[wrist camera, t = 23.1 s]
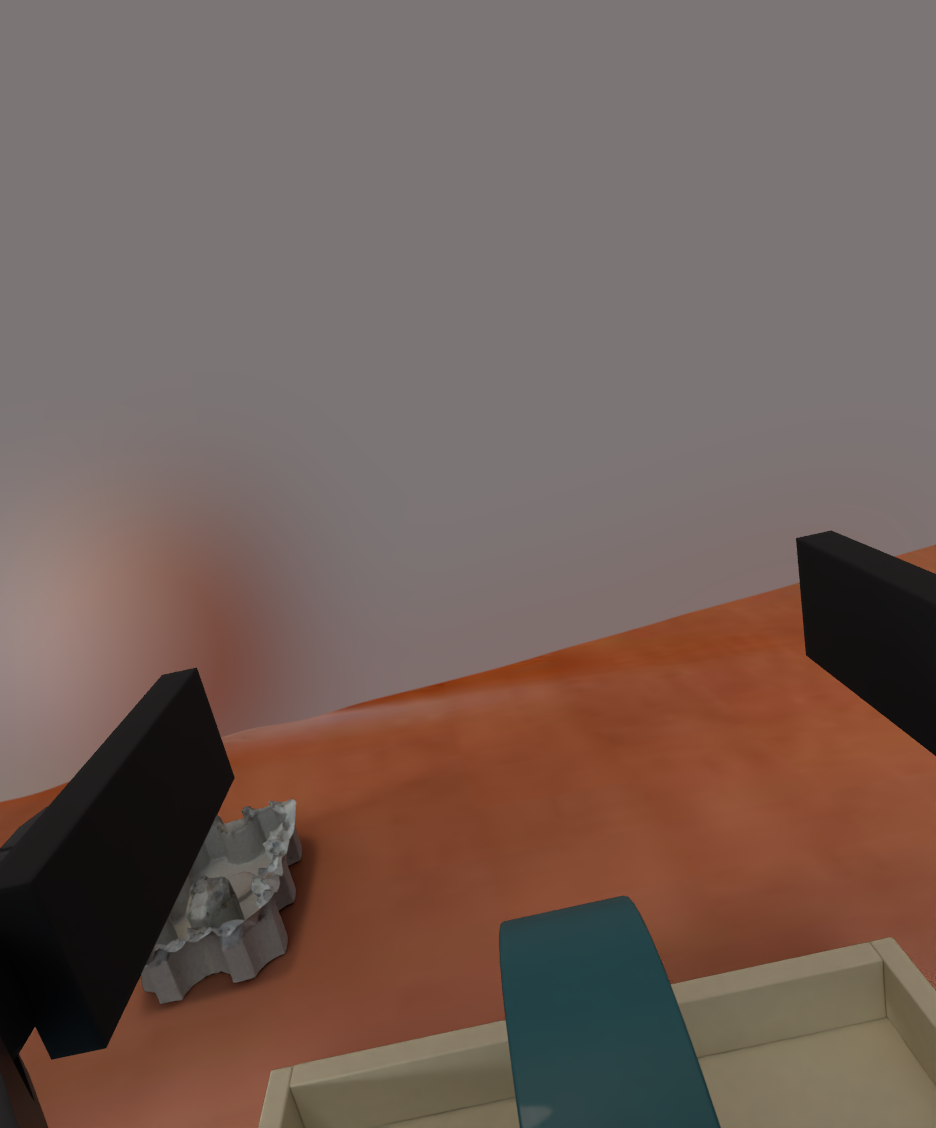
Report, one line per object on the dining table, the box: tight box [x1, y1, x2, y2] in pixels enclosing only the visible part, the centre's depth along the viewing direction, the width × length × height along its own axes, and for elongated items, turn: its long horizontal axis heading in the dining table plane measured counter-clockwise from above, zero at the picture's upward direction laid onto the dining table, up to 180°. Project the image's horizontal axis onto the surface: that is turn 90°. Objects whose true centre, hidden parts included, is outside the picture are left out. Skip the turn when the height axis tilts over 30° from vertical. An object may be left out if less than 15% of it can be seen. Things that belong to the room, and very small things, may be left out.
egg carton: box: [141, 799, 302, 1004], centre depth 36 cm, size 11×8×4 cm
